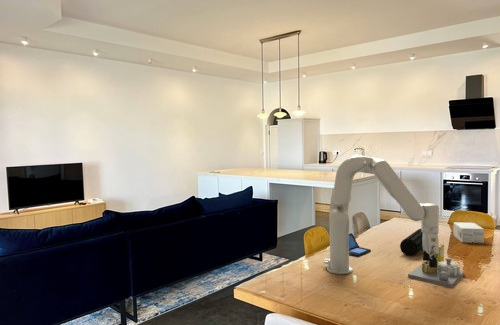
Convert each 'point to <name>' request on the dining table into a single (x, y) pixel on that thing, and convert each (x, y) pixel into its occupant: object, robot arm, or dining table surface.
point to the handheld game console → (356, 247)
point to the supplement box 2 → (468, 232)
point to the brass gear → (428, 268)
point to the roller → (412, 243)
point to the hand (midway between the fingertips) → (429, 263)
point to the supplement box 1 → (440, 254)
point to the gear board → (434, 277)
